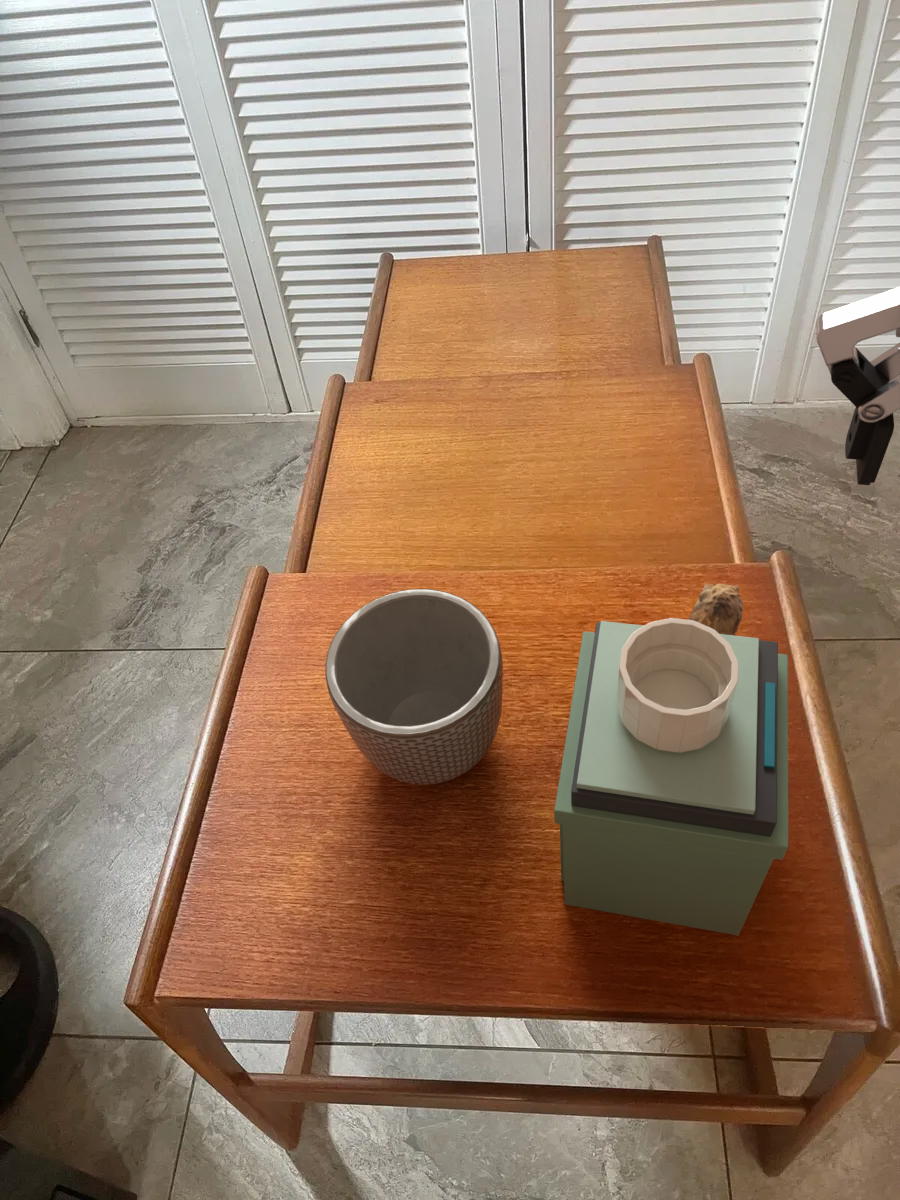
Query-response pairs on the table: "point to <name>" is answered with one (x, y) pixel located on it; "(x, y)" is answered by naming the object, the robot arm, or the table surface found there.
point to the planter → (418, 684)
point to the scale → (689, 779)
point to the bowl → (676, 684)
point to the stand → (664, 845)
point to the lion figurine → (719, 608)
